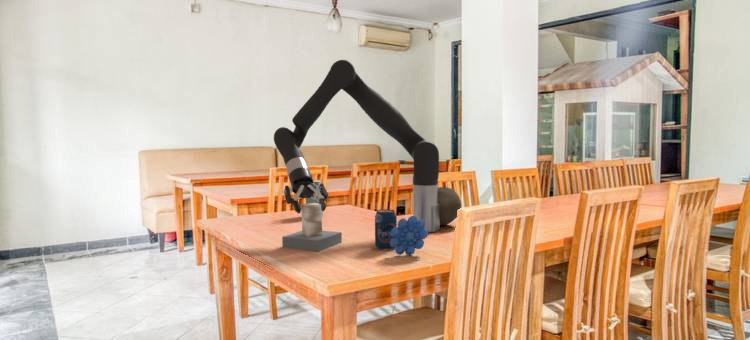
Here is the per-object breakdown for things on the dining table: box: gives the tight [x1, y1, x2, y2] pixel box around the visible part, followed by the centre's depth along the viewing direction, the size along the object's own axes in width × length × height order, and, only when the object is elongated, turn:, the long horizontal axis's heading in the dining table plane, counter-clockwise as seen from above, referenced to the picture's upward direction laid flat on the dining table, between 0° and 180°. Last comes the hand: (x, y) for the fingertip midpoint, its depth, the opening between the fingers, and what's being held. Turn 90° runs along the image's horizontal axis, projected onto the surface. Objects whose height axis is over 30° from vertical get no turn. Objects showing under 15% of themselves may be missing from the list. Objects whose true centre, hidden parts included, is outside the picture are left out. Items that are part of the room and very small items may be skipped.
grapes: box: [390, 215, 429, 256], centre depth 154 cm, size 12×7×12 cm, turn 95°
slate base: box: [281, 230, 343, 252], centre depth 169 cm, size 14×14×4 cm
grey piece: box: [300, 203, 323, 237], centre depth 169 cm, size 5×5×10 cm
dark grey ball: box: [438, 186, 462, 227], centre depth 199 cm, size 14×14×15 cm
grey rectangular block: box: [305, 180, 324, 217], centre depth 223 cm, size 8×7×16 cm
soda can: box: [374, 208, 398, 251], centre depth 163 cm, size 7×7×12 cm
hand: (311, 210), depth 168 cm, fingers open, 8 cm apart
